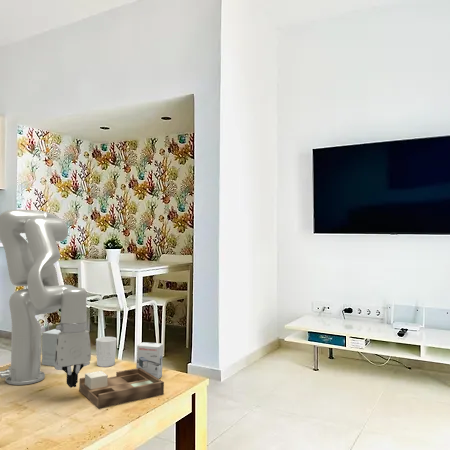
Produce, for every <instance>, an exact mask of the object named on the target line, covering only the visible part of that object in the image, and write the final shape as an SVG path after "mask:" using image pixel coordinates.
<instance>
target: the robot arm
mask: <svg viewBox="0 0 450 450" xmlns="http://www.w3.org/2000/svg"><path fill="white" fill-rule="evenodd" d="M68 230H69V229H68V226H67V224H66V222H65V221H64V220H63V219H62V218H61V217H59V216H56V215H54V214H53V213H50V212H47V211H44V210H34V209H33V210H31V209H30V210H29V209H9V210H8V209H7V210H5V211H3V212H2V213H1V214H0V242H1V244H2V247H3V249H4V253H5V260H6V264H7V269H8V276H9V279H10V282H11V283H12V285H13V286H16V287H27V288H23V289H22V288H21V289H18V290H16V291H14V292H13V293H12V294H11V296H10V298H9V301H8V305H9V311H10V319H11V344H10V349H11V351H10V352H11V354H10V366H8V368H7V369H5V370H0V378H1V379H4V378H5V383H7V384H9V385H15V386H23V385H24V386H25V385H30V384H31V385H32V384H35V383H38V382H41V381H43V380H44V379H45V376H46V374H45V372H44V371H41V365H42V326H41V324H40V322H39V320H38V319H37V318H36V316H39V315H44V314H51V313H52V314H53V313H55V312H57V311H58V310H60V322H59V324H58V325H56V326H55V329H56V330H60V331H61V332H59V333H58V337H57V343H56V350H55V362H56V363H55V366H53V367H54V370H56V371H63V372H64V373H66V384H67V386H68V387H69V388H70V389H71V388H76V387H77V384H78V382H79V381H78V380H79V379H78V378H79V373H80V371H81V370H82V369H83V368H84V367H86V366H89V365H90V364H91V358H92V352H91V351H92V350H91V338H90V333H89V332H90V331H89V330H87V329H86V328H87V298H88V297H87V290H86V289H85V288H82V287H75V286H74V285H71V284H63V285H62V284H61V285H60V284H59V278H58V273H57V269H56V266H55V264H56V263H57V262H58V261H59V260H60V259H61V252H60V249H59V247H58V244H57V242H63V241H65V240H66V239H67V237H68V234H69V231H68ZM21 234H25V237H26V239H25V238H24V237H23V236H22V235H21ZM72 366H73V367H72Z"/></svg>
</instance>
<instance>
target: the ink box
mask: <svg viewBox="0 0 450 450" xmlns="http://www.w3.org/2000/svg"><path fill="white" fill-rule="evenodd" d="M136 347H137V348H136V367H135V369H136V368H141V369H143V370H144V371H146V372H148V373H149V374H151V375H153V376H155V377H156V378H158V379H160V378H162V377H163V358H164V355H163V353H164V351H163V350H164V344H163V343H158V342H140V343H139V344H137V345H136Z"/></svg>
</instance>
